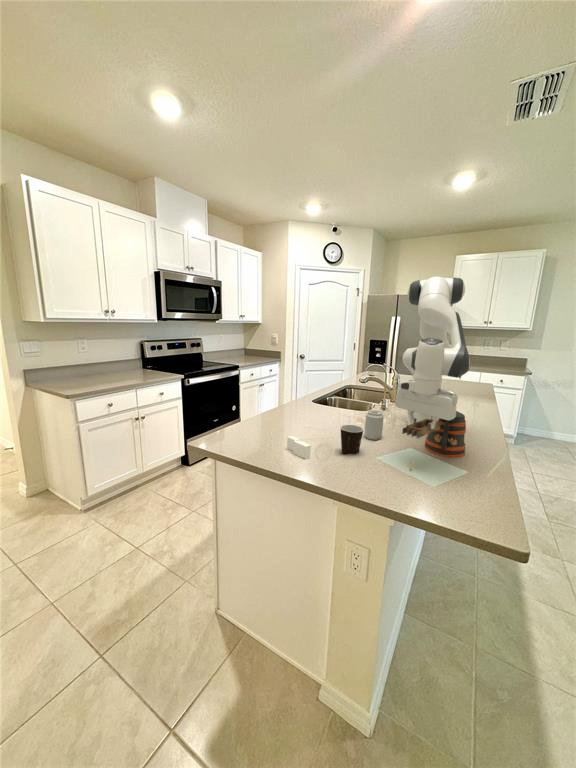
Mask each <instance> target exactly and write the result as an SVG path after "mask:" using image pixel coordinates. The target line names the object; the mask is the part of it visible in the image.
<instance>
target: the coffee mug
mask: <svg viewBox="0 0 576 768" xmlns="http://www.w3.org/2000/svg"><path fill="white" fill-rule="evenodd" d="M339 429H340V444H341V445H340V446H341V453H342V454H343V455H344V456H347V455H357V454H359V453H360V448H361V443H362V438H363V434H364V428H363V427H361V426H360V425H354V424H343V425H341V426H340V428H339Z"/></svg>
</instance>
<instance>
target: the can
mask: <svg viewBox="0 0 576 768" xmlns="http://www.w3.org/2000/svg"><path fill="white" fill-rule="evenodd" d="M384 417H385V416H384V414H383V412H382V411H381V410H376V409H375V410H374V409H370V410H367V413H366V414H365V422H364V423H365V424H364V433H363V434H364V435H363V436H365V438H366V439H367V440H372V441H379V440H380V439H382V438H383V427H384V426H383V425H384Z"/></svg>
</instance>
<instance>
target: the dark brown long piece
mask: <svg viewBox="0 0 576 768" xmlns="http://www.w3.org/2000/svg"><path fill="white" fill-rule="evenodd" d="M432 422H433V420H430V419H425V420H422V421H419V422H416V423H413V424H410V425H408V424H407V425H406V426H405V427H403V428H402V429H401V430H402V432H401V434H402V435H404V434H406V436H410V435H411V437H412V438H414V437H416V439H420V438H422V437H423V436H424V437H425V436H426V435H428V434H429V433H432V432H434V431H437V430H439V429H440V425H441V422H436V424H435V428H434V429H429V428H428V423H432Z"/></svg>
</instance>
